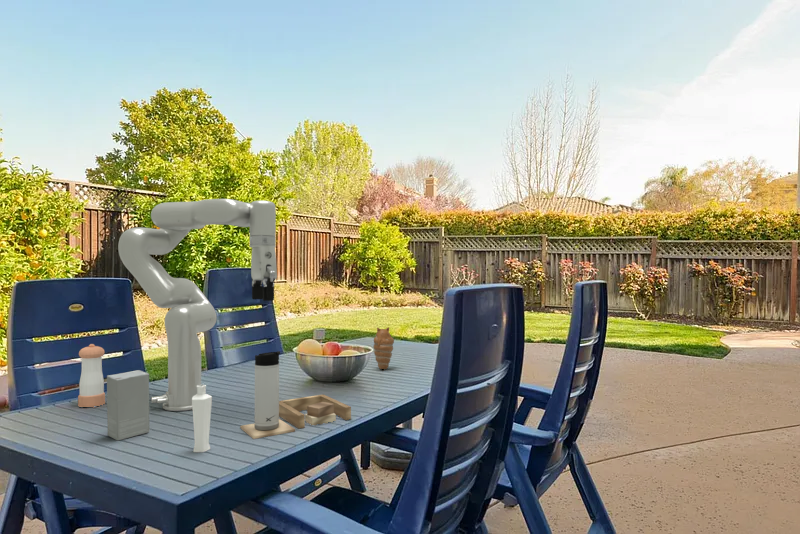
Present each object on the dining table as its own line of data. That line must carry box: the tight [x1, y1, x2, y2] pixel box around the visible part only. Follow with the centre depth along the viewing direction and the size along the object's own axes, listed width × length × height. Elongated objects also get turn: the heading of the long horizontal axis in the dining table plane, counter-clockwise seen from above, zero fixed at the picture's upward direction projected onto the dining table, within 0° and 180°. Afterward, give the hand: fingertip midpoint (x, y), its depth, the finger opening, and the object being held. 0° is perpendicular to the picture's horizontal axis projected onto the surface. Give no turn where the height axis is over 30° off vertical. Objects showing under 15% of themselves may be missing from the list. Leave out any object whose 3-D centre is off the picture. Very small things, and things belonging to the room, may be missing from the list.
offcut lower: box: [304, 413, 337, 426], centre depth 144 cm, size 7×5×2 cm
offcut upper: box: [306, 402, 334, 418], centre depth 145 cm, size 6×4×2 cm
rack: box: [279, 394, 352, 430], centre depth 149 cm, size 16×18×4 cm
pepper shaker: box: [77, 343, 106, 408], centre depth 163 cm, size 7×7×19 cm
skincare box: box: [106, 369, 150, 441], centre depth 133 cm, size 8×7×16 cm
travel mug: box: [253, 350, 281, 431], centre depth 137 cm, size 6×7×20 cm
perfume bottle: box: [192, 384, 213, 453], centre depth 122 cm, size 5×4×15 cm
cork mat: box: [239, 418, 296, 440], centre depth 137 cm, size 11×11×1 cm
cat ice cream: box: [372, 326, 395, 370], centre depth 219 cm, size 9×8×18 cm
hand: (262, 299), depth 155 cm, fingers open, 9 cm apart
